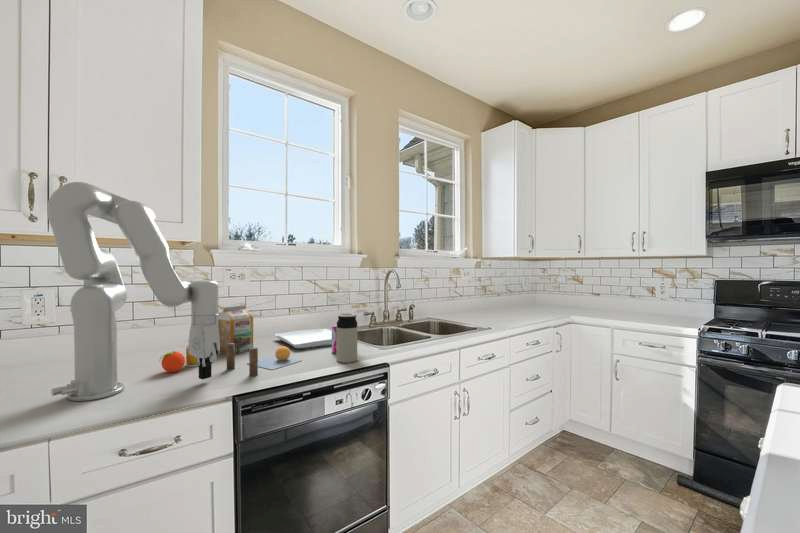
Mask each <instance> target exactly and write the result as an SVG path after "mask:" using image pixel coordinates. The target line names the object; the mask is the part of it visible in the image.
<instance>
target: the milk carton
mask: <svg viewBox="0 0 800 533" xmlns="http://www.w3.org/2000/svg"><path fill="white" fill-rule="evenodd" d="M218 328H219V338H220V352H221V353H220V352H219V353H220V354H224V353H225V354H224V355H227V344H228V343H235V355H236V354H242V353H246V352H249V349H250V348H254V316H253V314H252V313H251V312H250V310H248V309H247V305H245V304H243V305H234V306H233V305H232V306H223V307H222V311H221V312H220V313H218ZM241 352H242V353H241Z"/></svg>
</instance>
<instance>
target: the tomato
mask: <svg viewBox="0 0 800 533" xmlns="http://www.w3.org/2000/svg"><path fill="white" fill-rule="evenodd" d="M160 360H161V368H162V369H163V370H164V371H166V372H167V373H176V372H178V371H180V370H181V369H182V368H183V367H184V365H186V357H185V356H184V354H183V353H181V352H179V351H174V350H173V351H170V352H167V353H164V354H163V355H162V356H161V357H160V358H159V360H158V362H160Z"/></svg>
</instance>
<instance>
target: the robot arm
mask: <svg viewBox="0 0 800 533" xmlns="http://www.w3.org/2000/svg"><path fill="white" fill-rule="evenodd" d="M46 214H47V218H48V222H49V226H50V228H51V231H52V233H53V236H54V240H55V244H56V247H57V250H58V253H59V256H60V259H61V262H62V266H63V269H64V271H65V272H66V274H67V275H68V276H69V277H70V278H72V279H75V280H79V281H83V282H84V285H83V286H82V287H80V288H78V289H77V290H76V291H75V293H73V294H72V296H71V299H70V312H71V318H72V322H73V324H72V325H73V334H74V335H73V342H74V343H73V344H74V351H73V353H74V354H73V355H74V379H72V380H70V383H67V384H66V385H64V386H58V387H53V388H51V390H50V391H51V392H50V393H51V396H58V395H61V396H65V395H67V396H66V398H67V400H69V401H74V402H84V401H93V400H94V401H95V400H100V399H103V398H108V397H111V396H114V395H117V394H119V393H120V392H123V391H124V389H125V384H124V383H123V382H118V326H117V319H116V311H119V310H120V309H121V308H122V307H123V306H124V305H125V304H126V301H127V298H128V297H127V296H128V295H127V288H126V287H125V286H126V285H125V283H124V280H123V276H122V274H121V271H120V268H119V264H118V261H117V259H116V258H115V256H114V255H113V254H112V253H111V252H110V251H108V250H106V249H104V248H100V247H99V244H98V241H97V239H96V236H95V231H94V229H93V227H92V225H91V223H90V222H89V220H88V216H91V217H95V218H99V219H101V220H104V221H107V222H110V223H113V224H115V225H118V227H119V229H120V231H121V233H123V235H124V237H125V239H126V241H127V242H128V244H129V246H130V247H131V249H132V250H133V252H134V254H135V256H136V257H137V261H138V264H139V267H140V269H141V271H142V274H143V276H144V279H145V280H146V283H147V285H148V286H149V288H150V289H151V291H152V292H153V294H154V296H155V297H156V299H157V300H158V301H159V303H161V304H162V305H163V306H166V307H169V308H175V307H179V306H181V305H183V304H187V303H191V304H190V305H191V308H190V309H191V310H190V314H191V315H190V316H191V317H190V318H191V321H190V323H191V324H190V328H189V336H188V339H189V342H188V345H189V354H190V355H192V356H194V357H195V358H197V362H198V366H197V367H198V380H199V379H200V380H206V379H210V378H211V377H212V365H213V362H217V361H218V358H217V357H218V356H219V354H220V338H219V328H218V315H219V283H218V282H217V281H215V280H195V281H193V280H183V279H180V278H179V276H178V274H177V273H176V271H175V269H174V267H173V265H172V262H171V260H170V250H169V245H168V243H167V241H166V239H165V238H164V236H163V234H162V233H161V231H160V229H159V227H158V226H157V224H156V215H155V213H154V211H153V210H152V209H151V207H149V206H148V205H146V204H144V203H141V202H140V201H136V200H130V199H127V198H126V197H122V196H119V195H117V194H114V193H111V192H110V191H106V189H101V188H100V187H99V186H98V187H97V186H95V185H93V184H91V183H88V182H82V181H72V182H68V183H65V184H63V185H61V186H59V187H58V188H57V189H55V190H54V192H52V194H51V195H50V197H49V199H48V201H47V207H46Z"/></svg>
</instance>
